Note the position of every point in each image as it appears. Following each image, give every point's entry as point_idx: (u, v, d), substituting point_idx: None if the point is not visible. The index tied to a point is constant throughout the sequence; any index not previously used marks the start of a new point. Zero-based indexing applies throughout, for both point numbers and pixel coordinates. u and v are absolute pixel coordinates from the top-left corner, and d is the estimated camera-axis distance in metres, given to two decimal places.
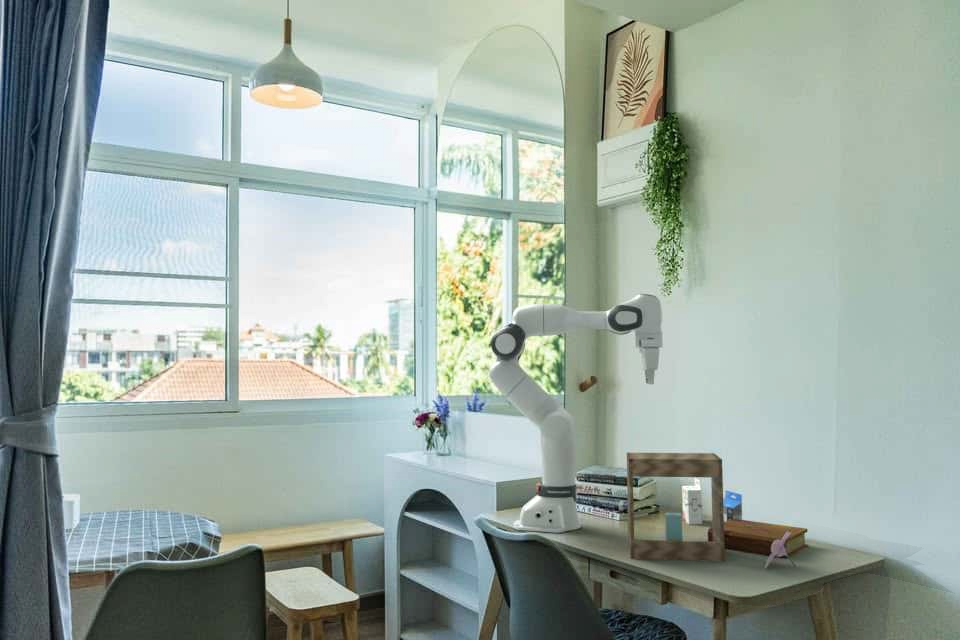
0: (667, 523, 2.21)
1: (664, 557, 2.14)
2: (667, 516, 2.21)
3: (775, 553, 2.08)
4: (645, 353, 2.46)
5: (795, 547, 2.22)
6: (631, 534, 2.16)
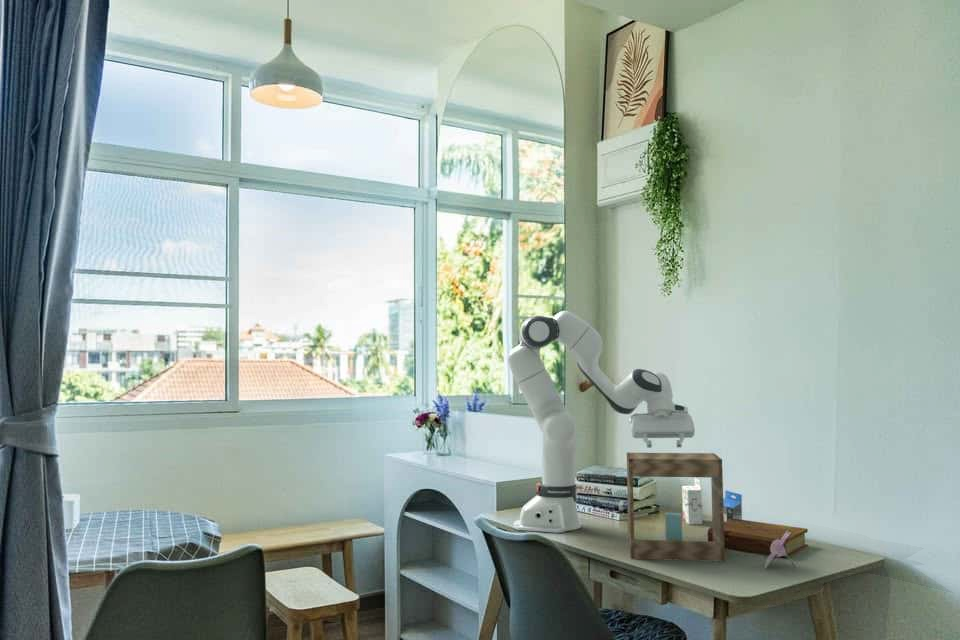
0: (667, 523, 2.21)
1: (664, 557, 2.14)
2: (667, 516, 2.21)
3: (774, 553, 2.08)
4: (691, 418, 2.51)
5: (795, 547, 2.22)
6: (631, 534, 2.16)
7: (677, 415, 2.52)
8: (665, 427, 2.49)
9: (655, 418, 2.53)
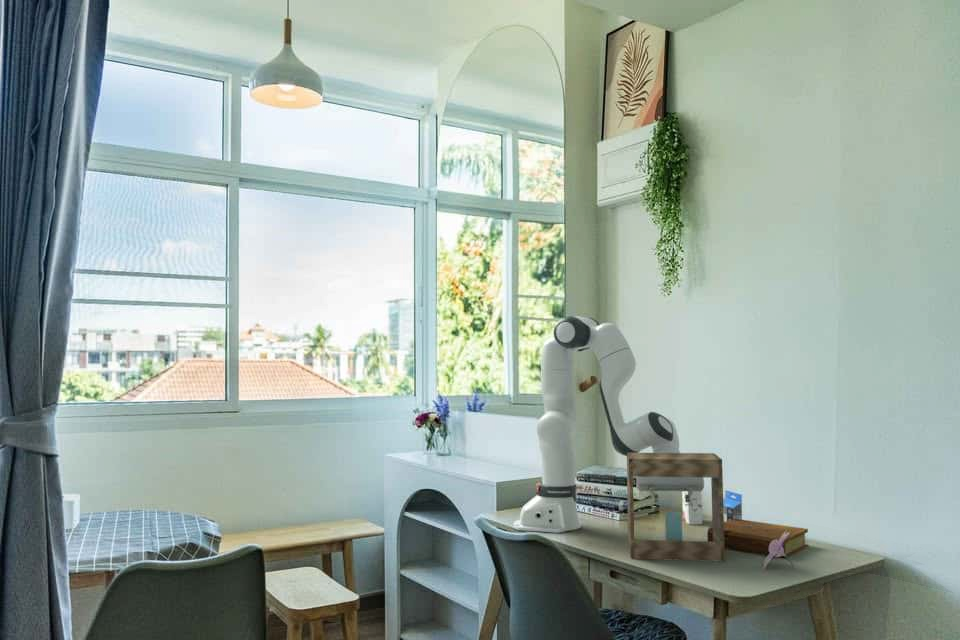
0: (667, 523, 2.21)
1: (664, 557, 2.14)
2: (667, 516, 2.21)
3: (773, 553, 2.08)
4: None
5: (794, 547, 2.22)
6: (631, 534, 2.16)
7: None
8: (672, 480, 2.32)
9: None
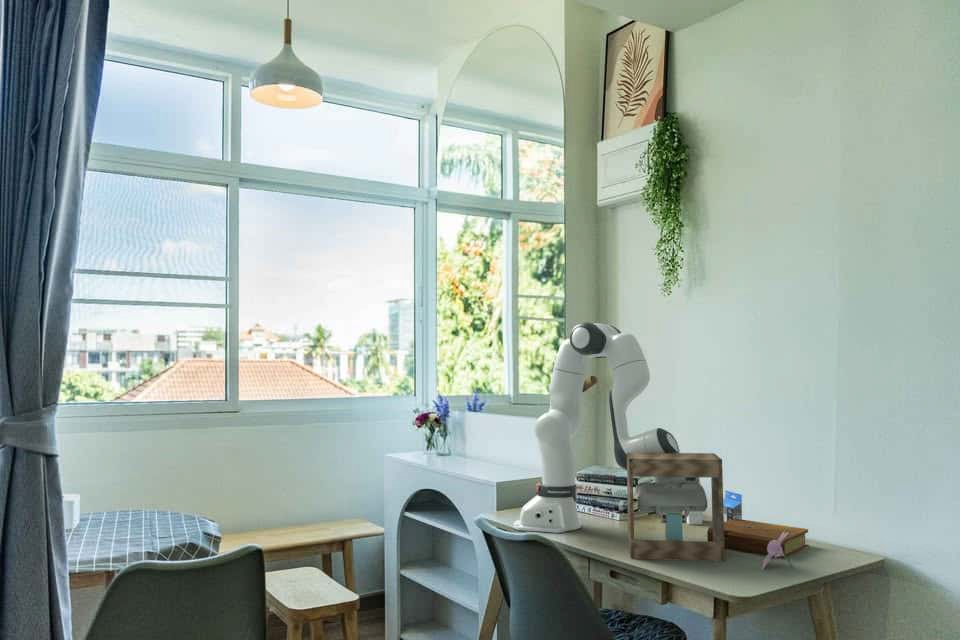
0: (667, 523, 2.21)
1: (664, 557, 2.14)
2: (668, 516, 2.21)
3: (772, 553, 2.08)
4: (703, 489, 2.27)
5: (794, 547, 2.22)
6: (631, 534, 2.16)
7: (688, 486, 2.28)
8: (674, 500, 2.26)
9: (663, 489, 2.29)
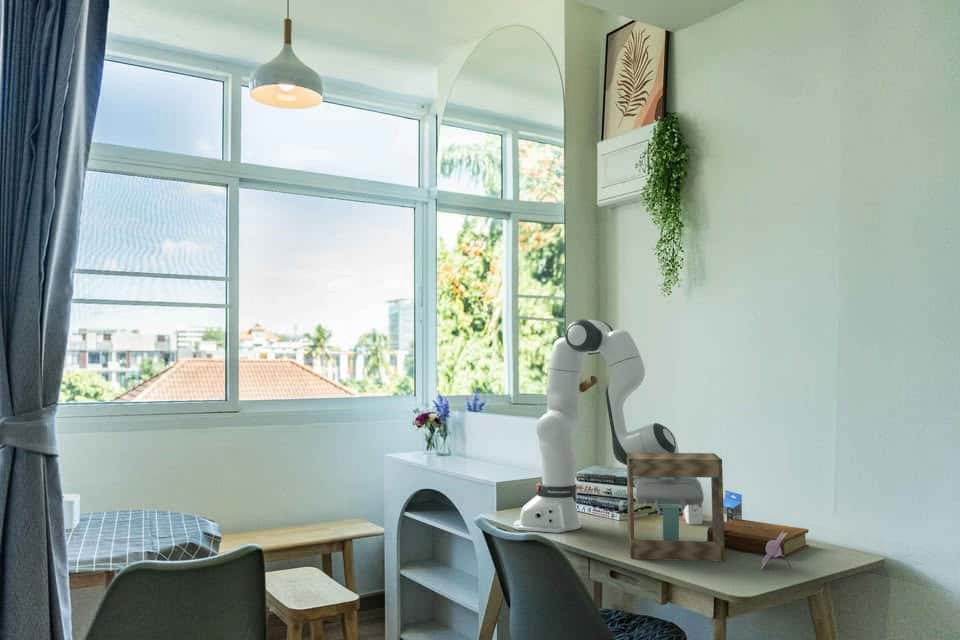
0: (664, 515, 2.26)
1: (664, 557, 2.14)
2: (664, 508, 2.26)
3: (770, 554, 2.07)
4: (700, 483, 2.32)
5: (794, 547, 2.21)
6: (631, 534, 2.16)
7: (685, 480, 2.33)
8: (671, 493, 2.31)
9: (661, 482, 2.34)
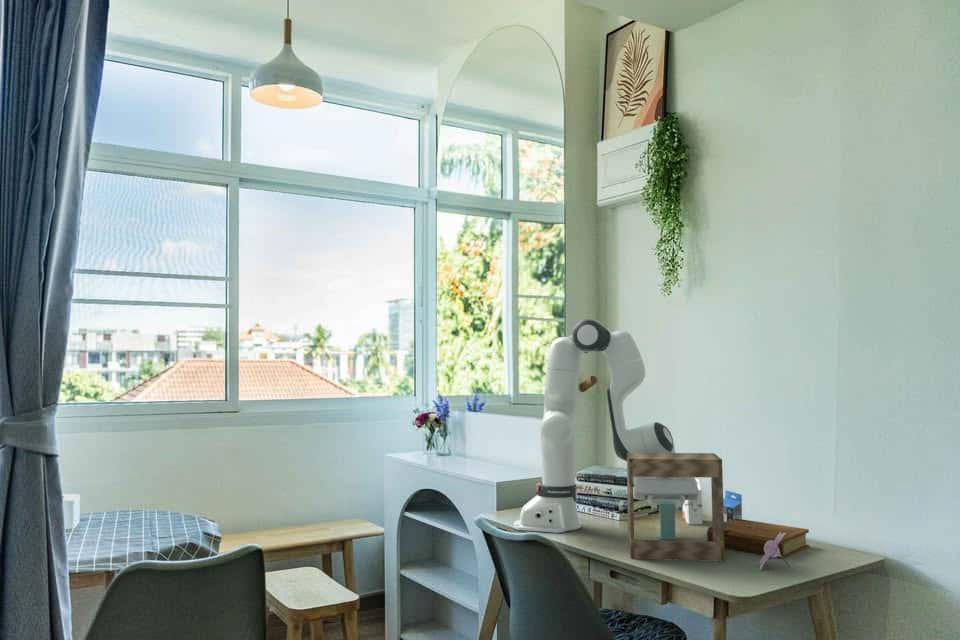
0: (661, 511, 2.38)
1: (664, 557, 2.14)
2: (661, 504, 2.38)
3: (769, 554, 2.07)
4: (695, 479, 2.44)
5: (794, 547, 2.21)
6: (631, 534, 2.16)
7: None
8: (668, 489, 2.43)
9: (658, 479, 2.46)
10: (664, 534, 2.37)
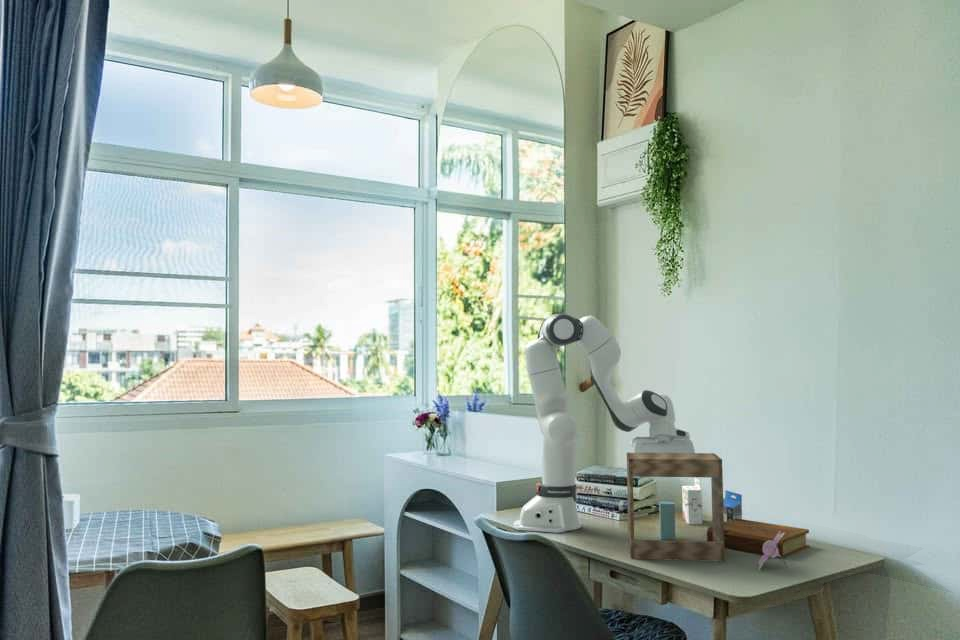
0: (661, 511, 2.38)
1: (664, 557, 2.14)
2: (661, 505, 2.38)
3: (767, 554, 2.07)
4: (692, 443, 2.53)
5: (794, 547, 2.21)
6: (631, 534, 2.16)
7: (678, 440, 2.54)
8: None
9: (656, 443, 2.55)
10: (664, 534, 2.37)
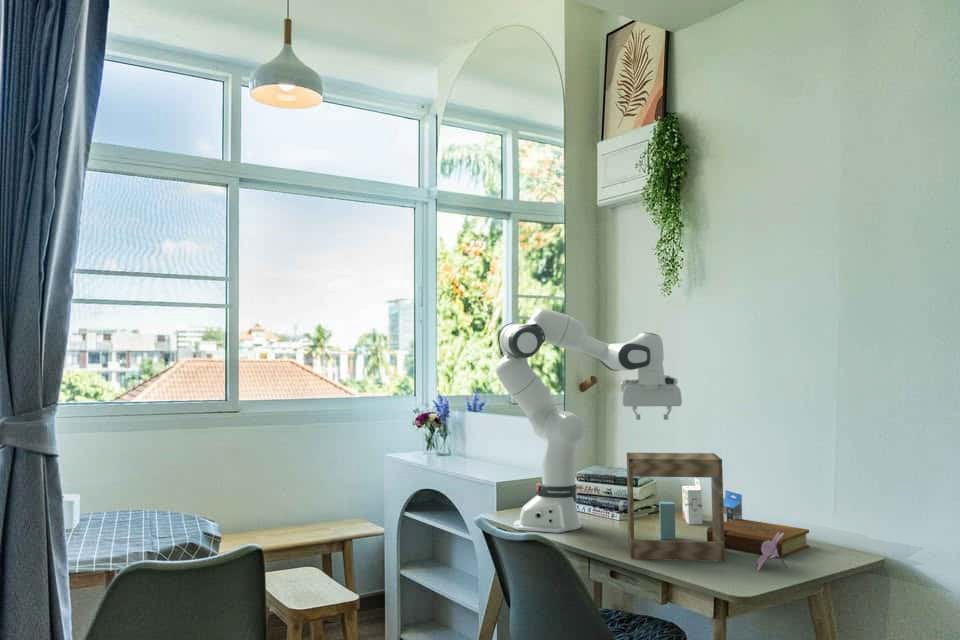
0: (661, 511, 2.38)
1: (664, 557, 2.14)
2: (661, 505, 2.38)
3: (766, 554, 2.07)
4: None
5: (794, 547, 2.21)
6: (631, 534, 2.16)
7: (666, 388, 2.61)
8: (654, 401, 2.62)
9: (645, 390, 2.63)
10: (664, 534, 2.37)
